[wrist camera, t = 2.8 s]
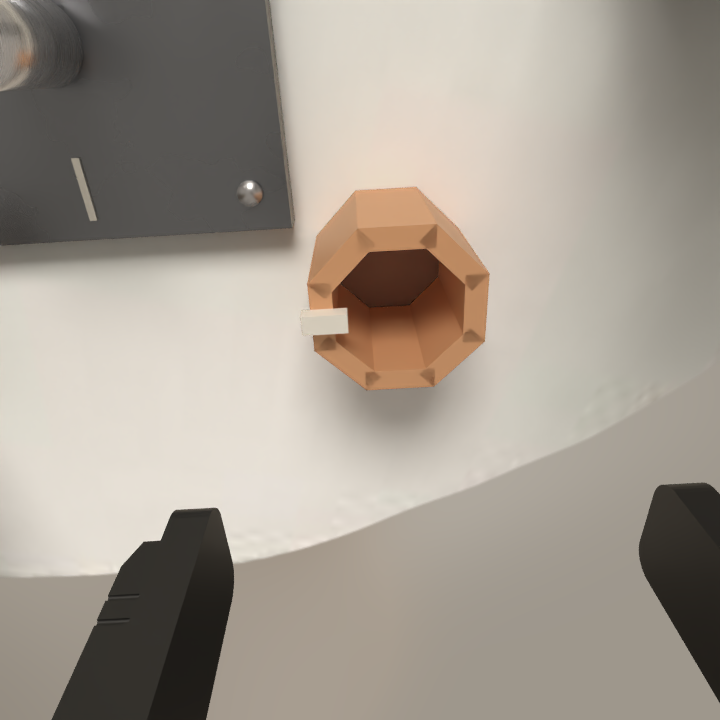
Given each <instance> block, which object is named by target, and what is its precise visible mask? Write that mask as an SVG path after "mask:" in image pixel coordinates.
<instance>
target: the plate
mask: <svg viewBox="0 0 720 720" xmlns="http://www.w3.org/2000/svg"><path fill="white" fill-rule="evenodd" d="M294 221H295V219H294V211H293V202H292V193H291V185H290V176H289V167H288V159H287V150H286V141H285V133H284V124H283V115H282V107H281V98H280V89H279V81H278V72H277V63H276V55H275V46H274V38H273V29H272V20H271V12H270V3H269V0H0V245H14V244H31V243H48V242H64V241H81V240H98V239H115V238H131V237H148V236H165V235H182V234H199V233H215V232H232V231H249V230H266V229H282V228H292V227H293V224H294Z"/></svg>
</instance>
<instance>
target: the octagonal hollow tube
mask: <svg viewBox="0 0 720 720" xmlns="http://www.w3.org/2000/svg"><path fill="white" fill-rule="evenodd" d="M412 249H427V250H428V251H429V252H431V253H432V254H433V255H434V256H435V257H436V258H437V259H438V260H439V269H438V277H437V278H436V279H435V280H434V281H433V282H432V283H431V284H430V285H429V286H428V287H427V288H426V289H425V290H424V291H423V292H422V293H421V294H420V295H419V296H418V297H417V298H416V299H415V300H414V301H413V302H412V303H411V304H410V305H405V306H388V307H371V308H369V307H368V306H367V305H366V304H364V303H363V302H362V301H361V300H359V299H358V298H357V297H356V296H355V295H353V294H352V293H351V292H350V291H349V290H347V289H346V288H345V287H344V286H343V285H341V284H340V283H341V282H342V281H343V279H344V278H345V277H346V276H347V275H348V274H349V273H350V272H351V271H352V270H353V269H354V268H355V266H356V265H357V264H358V263H359V262H360V261H361V260H362V259H363V258H364V257H365V256H366V255H367V253H368V252H378V251H395V250H412ZM489 275H490V274H489V272H488V271H487V269H486V268H485V266H484V265H483V264H482V262H481V261H480V259H479V258H478V256H477V255H476V253H475V252H474V250H473V249H472V247H471V246H470V244H469V243H468V242H467V240H466V239H465V237H464V236H463V234H462V233H461V231H460V230H459V228H458V227H457V226H456V225H455V224H454V223H453V222H452V221H451V220H449V219H448V218H447V217H446V216H445V215H444V214H443V213H442V212H441V211H440V210H439V209H438V208H437V207H436V206H435V205H434V204H433V203H432V202H431V201H430V200H429V199H428V198H427V197H426V196H425V195H424V194H423V193H422V192H421V191H420V190H419V189H418V188H417V187H410V188H393V189H376V190H360V191H355V192H354V193H353V194H352V195H351V197H350V198H349V199H348V200H347V201H346V202H345V204H344V205H343V206H342V207H341V208H340V209H339V211H338V212H337V213H336V214H335V215H334V216H333V217H332V219H331V220H330V221H329V222H328V223H327V224H326V226H325V227H324V228H323V229H322V230H321V231H320V233H319V234H318V235H317V237H316V242H315V247H314V252H313V257H312V262H311V267H310V272H309V278H308V283H307V286H308V295H309V304H310V310H302V311H301V316H300V320H301V329H302V336H310V335H313V341H314V351H315V352H317V353H318V354H319V355H321V356H322V357H323V358H325V359H326V360H327V361H329V362H330V363H331V364H333V365H334V366H335V367H337V368H338V369H339V370H341V371H342V372H343V373H345V374H346V375H347V376H349V377H350V378H351V379H353V380H354V381H355V382H357V383H358V384H359V385H361V386H362V387H363V388H365V389H366V390H379V389H397V388H415V387H433V386H435V385H436V384H437V383H438V382H440V381H441V380H442V379H443V378H444V377H445V376H446V375H447V374H449V373H450V372H451V371H452V370H453V369H454V368H455V367H456V366H458V365H459V364H460V363H461V362H462V361H463V360H464V359H465V358H467V357H468V356H469V355H470V354H471V353H472V352H473V351H474V350H476V349H477V348H478V347H479V346H480V345H481V344H482V343H483V342H485V330H486V316H487V301H488V287H489Z"/></svg>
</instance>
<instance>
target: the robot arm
mask: <svg viewBox="0 0 720 720" xmlns="http://www.w3.org/2000/svg"><path fill="white" fill-rule="evenodd" d="M639 557H640V562H641V566H642V569H643V572H644V574H645V577H646V579H647V580H648V582H649V584H650V586H651V587H652V589H653V591H654V592H655V594H656V596H657V597H658V599H659V600H660V602H661V604H662V606H663V607H664V609H665V611H666V613H667V614H668V616H669V618H670V619H671V621H672V623H673V624H674V626H675V628H676V629H677V631H678V633H679V635H680V636H681V638H682V640H683V641H684V643H685V645H686V646H687V648H688V650H689V651H690V653H691V655H692V656H693V658H694V660H695V662H696V663H697V665H698V667H699V668H700V670H701V672H702V674H703V675H704V677H705V679H706V680H707V682H708V684H709V685H710V687H711V689H712V691H713V692H714V694H715V696H716V697H717V699H718V701H719V702H720V494H719V493H718V492H717V491H716V490H715V489H714V488H713V487H712V486H711V485H709V484H707V483H689V484H688V483H687V484H669V485H660V486H659V487H657V489H656V490H655V492H654V495H653V499H652V502H651V505H650V509H649V513H648V516H647V519H646V522H645V526H644V529H643V533H642V536H641V539H640V544H639ZM233 589H234V569H233V563H232V558H231V554H230V550H229V546H228V542H227V538H226V534H225V530H224V526H223V522H222V518H221V514H220V512H219V510H218V509H217V508H203V509H185V510H175V511H174V512H173V513H172V515H171V516H170V519H169V521H168V524H167V526H166V529H165V531H164V534H163V536H162V539H161V541H149V542H143V543H142V544H141V546H140V547H139V548H138V549H137V550H136V551H135V552H134V553H133V554H132V555H131V556H130V558H129V559H128V560H127V561H126V562H125V563H124V564H123V565H122V566H121V568H120V571H119V573H118V575H117V577H116V579H115V582H114V584H113V586H112V588H111V590H110V592H109V595H108V597H109V598H108V601H105V603H104V606H103V608H102V610H101V612H100V615H99V617H98V619H97V621H98V622H97V625H96V626H94V628H93V630H92V632H91V634H90V637H89V639H88V641H87V643H86V645H85V648H84V650H83V652H82V654H81V656H80V658H79V661H78V663H77V665H76V667H75V669H74V672H73V674H72V676H71V678H70V680H69V683H68V685H67V687H66V689H65V691H64V694H63V696H62V698H61V700H60V702H59V705H58V707H57V709H56V711H55V713H54V716H53V718H52V720H206V717H207V713H208V707H209V703H210V699H211V694H212V690H213V685H214V680H215V676H216V671H217V666H218V662H219V657H220V653H221V648H222V644H223V639H224V634H225V630H226V625H227V621H228V616H229V611H230V607H231V602H232V597H233Z"/></svg>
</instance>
